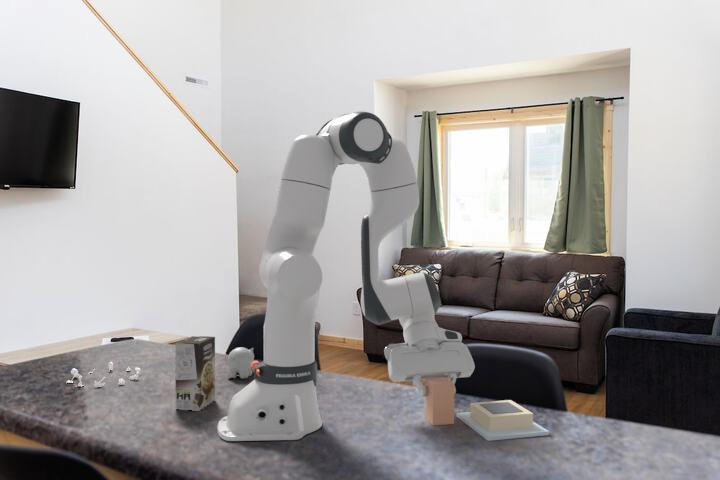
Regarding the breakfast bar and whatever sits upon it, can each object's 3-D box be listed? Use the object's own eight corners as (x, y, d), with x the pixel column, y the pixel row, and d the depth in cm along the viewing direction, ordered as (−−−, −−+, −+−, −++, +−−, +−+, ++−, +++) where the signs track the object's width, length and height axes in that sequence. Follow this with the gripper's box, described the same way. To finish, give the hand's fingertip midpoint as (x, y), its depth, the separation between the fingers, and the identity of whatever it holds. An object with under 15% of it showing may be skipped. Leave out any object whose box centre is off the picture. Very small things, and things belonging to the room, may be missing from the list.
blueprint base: (487, 440, 126) (487, 422, 126) (456, 416, 142) (456, 399, 142) (548, 435, 130) (549, 416, 130) (512, 411, 145) (512, 395, 145)
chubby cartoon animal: (263, 370, 183) (263, 342, 183) (246, 381, 172) (246, 350, 171) (241, 369, 185) (241, 341, 185) (223, 379, 173) (222, 349, 173)
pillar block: (432, 425, 136) (433, 384, 135) (424, 418, 140) (425, 378, 140) (454, 423, 137) (454, 383, 137) (445, 416, 142) (445, 377, 141)
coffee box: (199, 411, 145) (199, 343, 144) (174, 410, 146) (173, 342, 146) (216, 400, 154) (216, 336, 153) (192, 399, 155) (192, 335, 154)
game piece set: (50, 385, 168) (50, 371, 168) (106, 369, 187) (106, 356, 187) (104, 393, 161) (104, 379, 161) (157, 375, 179) (157, 362, 179)
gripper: (385, 336, 143) (397, 390, 134) (467, 333, 148) (484, 384, 139) (379, 352, 148) (391, 404, 139) (459, 347, 153) (476, 398, 143)
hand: (438, 394), depth 139 cm, fingers closed on pillar block, 5 cm apart
